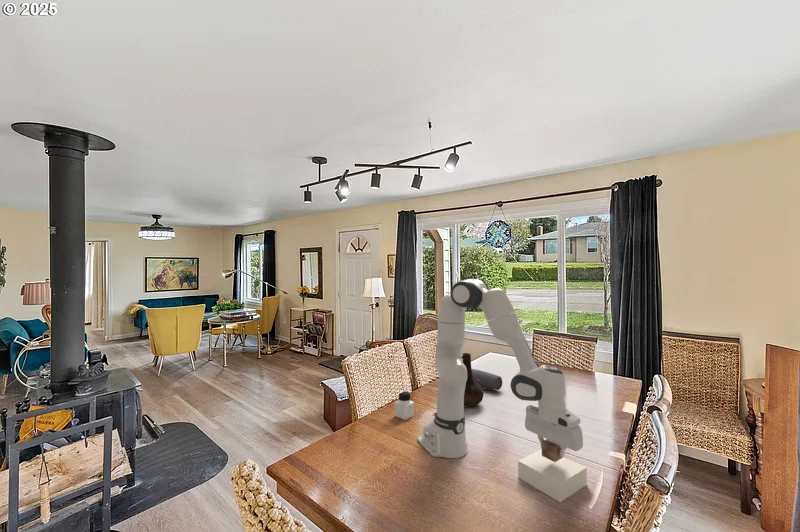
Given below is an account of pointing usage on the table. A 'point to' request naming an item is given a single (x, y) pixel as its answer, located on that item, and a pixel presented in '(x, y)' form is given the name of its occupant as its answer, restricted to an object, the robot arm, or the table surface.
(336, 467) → the table surface
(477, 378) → the bluetooth speaker
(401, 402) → the medicine bottle
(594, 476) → the table surface
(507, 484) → the table surface
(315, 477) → the table surface
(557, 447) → the walnut cube
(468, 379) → the glass bottle
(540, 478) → the plate
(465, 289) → the robot arm
